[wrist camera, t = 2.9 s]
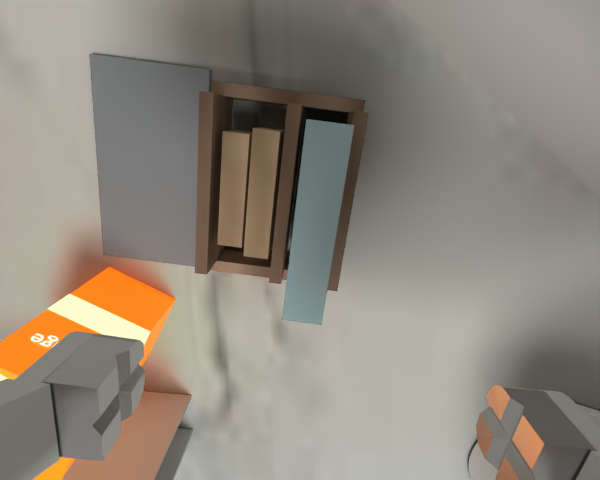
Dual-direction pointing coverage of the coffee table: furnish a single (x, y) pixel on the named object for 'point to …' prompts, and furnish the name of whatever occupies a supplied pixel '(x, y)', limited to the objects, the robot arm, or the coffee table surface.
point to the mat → (147, 156)
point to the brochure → (143, 443)
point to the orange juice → (88, 327)
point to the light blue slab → (316, 218)
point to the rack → (218, 119)
